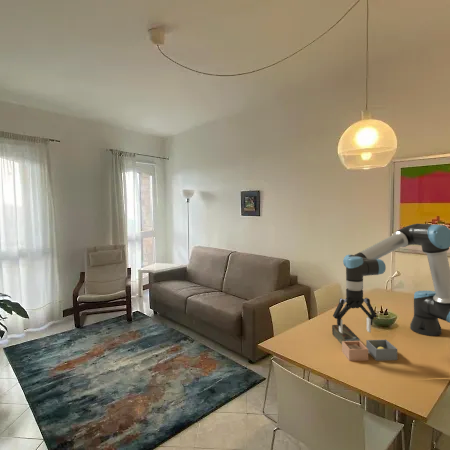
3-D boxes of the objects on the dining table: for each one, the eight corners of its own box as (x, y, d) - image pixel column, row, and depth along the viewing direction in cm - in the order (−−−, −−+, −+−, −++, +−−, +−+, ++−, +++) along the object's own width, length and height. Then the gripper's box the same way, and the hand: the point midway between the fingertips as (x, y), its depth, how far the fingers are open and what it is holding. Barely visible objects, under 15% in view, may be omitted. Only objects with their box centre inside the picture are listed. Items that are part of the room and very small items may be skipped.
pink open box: (359, 352, 152) (359, 340, 152) (368, 361, 144) (368, 349, 143) (342, 352, 153) (341, 341, 152) (349, 362, 144) (349, 349, 143)
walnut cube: (355, 353, 151) (355, 344, 150) (361, 357, 146) (361, 348, 146) (347, 354, 150) (347, 345, 149) (353, 358, 145) (353, 349, 145)
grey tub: (386, 351, 153) (386, 339, 153) (397, 361, 143) (397, 348, 143) (366, 351, 153) (366, 340, 153) (376, 361, 143) (376, 349, 143)
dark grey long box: (345, 350, 155) (344, 338, 155) (331, 334, 174) (331, 323, 174) (360, 350, 155) (360, 337, 155) (345, 334, 174) (345, 323, 174)
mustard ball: (383, 353, 150) (383, 345, 150) (387, 357, 146) (387, 349, 146) (375, 353, 150) (375, 345, 150) (379, 357, 146) (379, 349, 146)
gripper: (376, 286, 150) (376, 327, 151) (326, 287, 150) (326, 329, 151) (384, 290, 142) (384, 334, 143) (331, 291, 142) (331, 335, 144)
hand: (354, 331), depth 147 cm, fingers open, 13 cm apart
